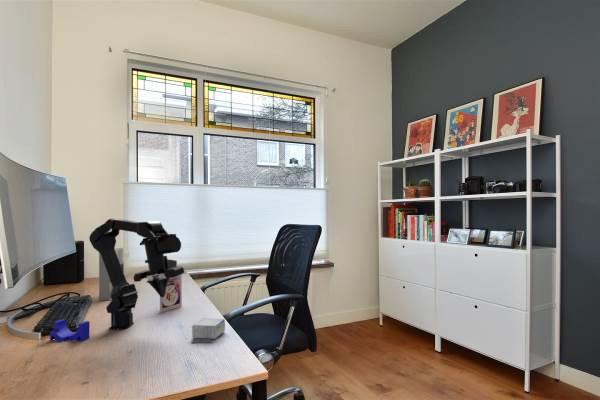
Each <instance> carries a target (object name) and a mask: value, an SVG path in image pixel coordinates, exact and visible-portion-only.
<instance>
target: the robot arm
mask: <svg viewBox="0 0 600 400" xmlns="http://www.w3.org/2000/svg"><path fill="white" fill-rule="evenodd" d="M120 231H123V232H130V233H131V232H132V233H136V234H137V236H140V237H143V238H142V240H141V241H140V243H139V246H144V248H145V249H144V250H145V256H146V259H145V260H144V263H145V264H147V265H148V270H142V271H139V272H137V273H135V274H134V276H133V283H129V282H128V281H127V279H126V276H125V272H124V273H123V270H122V268H121V265H120V262H119V260H118V257H117V254H116V252H115V249H114V248H116V243H117V239H116V238H117V237H118V236H119V234H120ZM89 243H90V244H91V246H92V247H93V249H94V250H96V252H98V254H99V253H100V254H101V256H102V259H103V262H104V264H105V267H106V270H107V273H108V275H109V278H110V281H111V284H112V286H113V289H112V293H111V298H112V299H111V300H110V302H109V303H108V305H107V306H106V308H105V309H106V312H107V314H110V326H109V327H108V330H126V329H128V328H129V327H132V325H134V324H135V322H134V313H133V312H132V310H133V309H135V308H136V305H137V301H138V299H139V295H138V293H139V292H138V290H137V288H136V285H135V283H138V282H142V280H143V279H147V280H146V283H148V284H149V285H150V286H151V287H152V288H153V289H154V291H155V292H156V293H157V295H158V296H159V298H160V297H164V296H165V292H166V286H167V282H168V280H169V278H172V277H176V276H178V275H181V274H182V275H183V274H185V270H184V267H183V266H182V265H180V266H177V265H178V261H177V260H174V259H168V256H167V254H172V253H178V252H180V250H181V248H182V241H181V240H180V238H179V237H178V236H177V233H168V231H167V230H166V229H165V228H164V226H163V224H162V222H161V221H141V222H140V221H136V220H135V221H134V220H128V219H121V218H109V219H107V220H106V221H105V222H104V223H102V224H101V225H99V226H98V227H96V228H95V229H94V230H93V231H91V233H90V234H89Z"/></svg>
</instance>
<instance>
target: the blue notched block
mask: <svg viewBox="0 0 600 400" xmlns="http://www.w3.org/2000/svg"><path fill="white" fill-rule="evenodd" d="M90 322H91V321H89V320H85V321H83V322H80V323H78V325H77V329H76V331H75V332H72V330H70V329H69V328H68V324H67V322H66V319H59V320H57V321H54V322H53V323H54V324H53V325H54V326H53V328H54V329H53V330H52V331H50V332H49V341H50V340H53V339H55V340H57V341H56V342H61V341H64V342H67V341H72V340H76V341H75V342H84V341H87V340H88V338H89V339H90ZM66 340H67V341H66Z"/></svg>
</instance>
